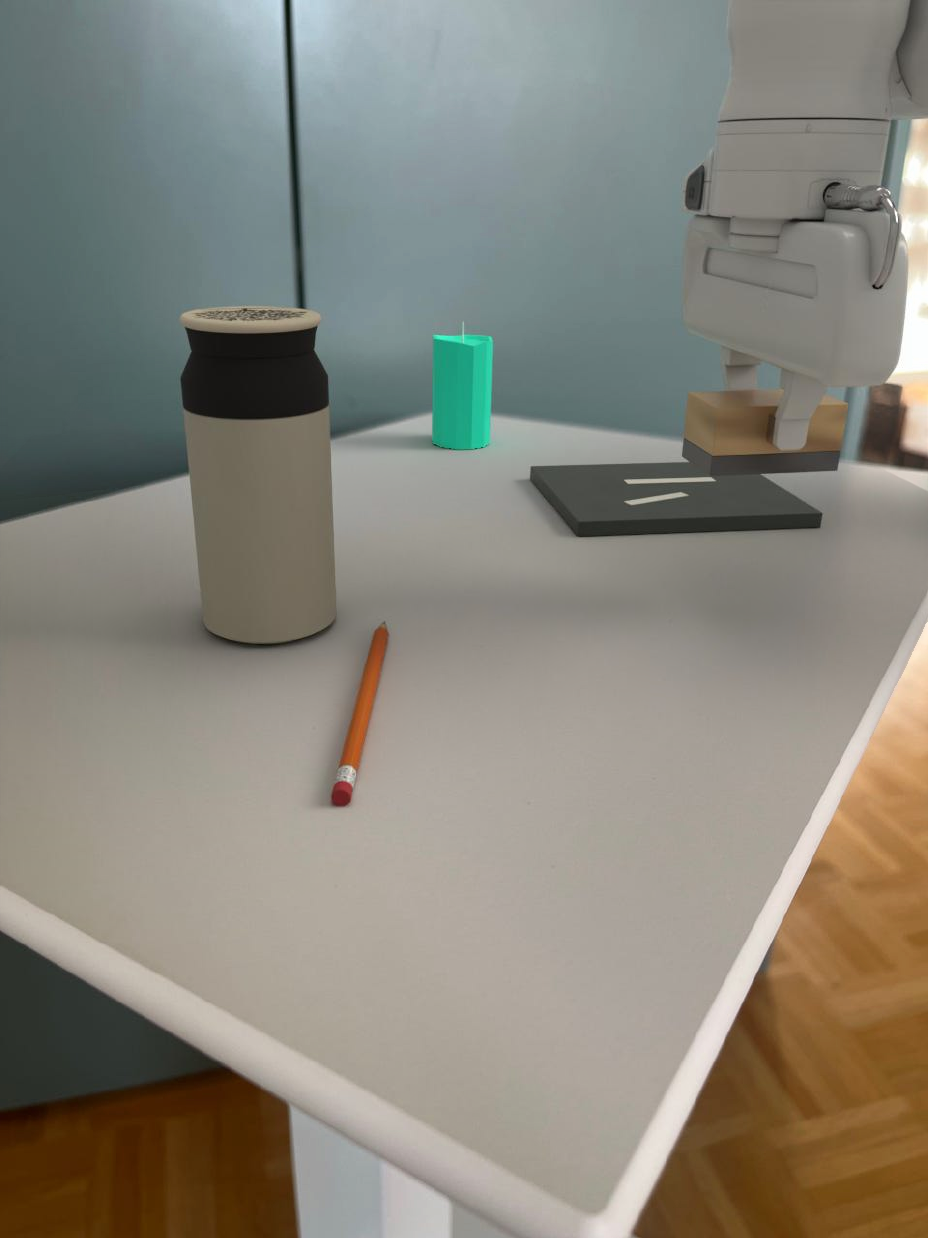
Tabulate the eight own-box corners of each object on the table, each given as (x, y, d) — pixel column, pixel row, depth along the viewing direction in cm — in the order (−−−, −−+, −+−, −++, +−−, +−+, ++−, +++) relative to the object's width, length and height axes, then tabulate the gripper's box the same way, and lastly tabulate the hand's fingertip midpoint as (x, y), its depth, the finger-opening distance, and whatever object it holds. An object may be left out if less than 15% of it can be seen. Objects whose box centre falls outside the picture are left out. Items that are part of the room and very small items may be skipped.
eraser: (801, 451, 63) (810, 387, 62) (837, 471, 59) (848, 403, 58) (681, 456, 62) (687, 391, 60) (710, 476, 58) (717, 407, 56)
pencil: (331, 806, 43) (330, 789, 43) (377, 627, 61) (377, 614, 60) (351, 807, 43) (350, 789, 43) (391, 627, 61) (391, 614, 60)
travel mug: (340, 644, 58) (329, 323, 51) (199, 651, 57) (166, 323, 49) (333, 592, 65) (323, 304, 58) (208, 598, 64) (181, 304, 57)
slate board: (737, 472, 94) (738, 459, 94) (820, 527, 80) (823, 512, 79) (529, 478, 91) (530, 465, 90) (577, 536, 76) (578, 520, 76)
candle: (426, 447, 100) (427, 324, 96) (437, 433, 106) (438, 316, 101) (485, 451, 100) (489, 326, 95) (493, 437, 105) (497, 318, 100)
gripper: (966, 185, 45) (909, 481, 51) (766, 181, 64) (740, 398, 69) (838, 185, 44) (794, 486, 50) (671, 180, 63) (653, 401, 68)
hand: (761, 434), depth 60 cm, fingers closed on eraser, 4 cm apart
